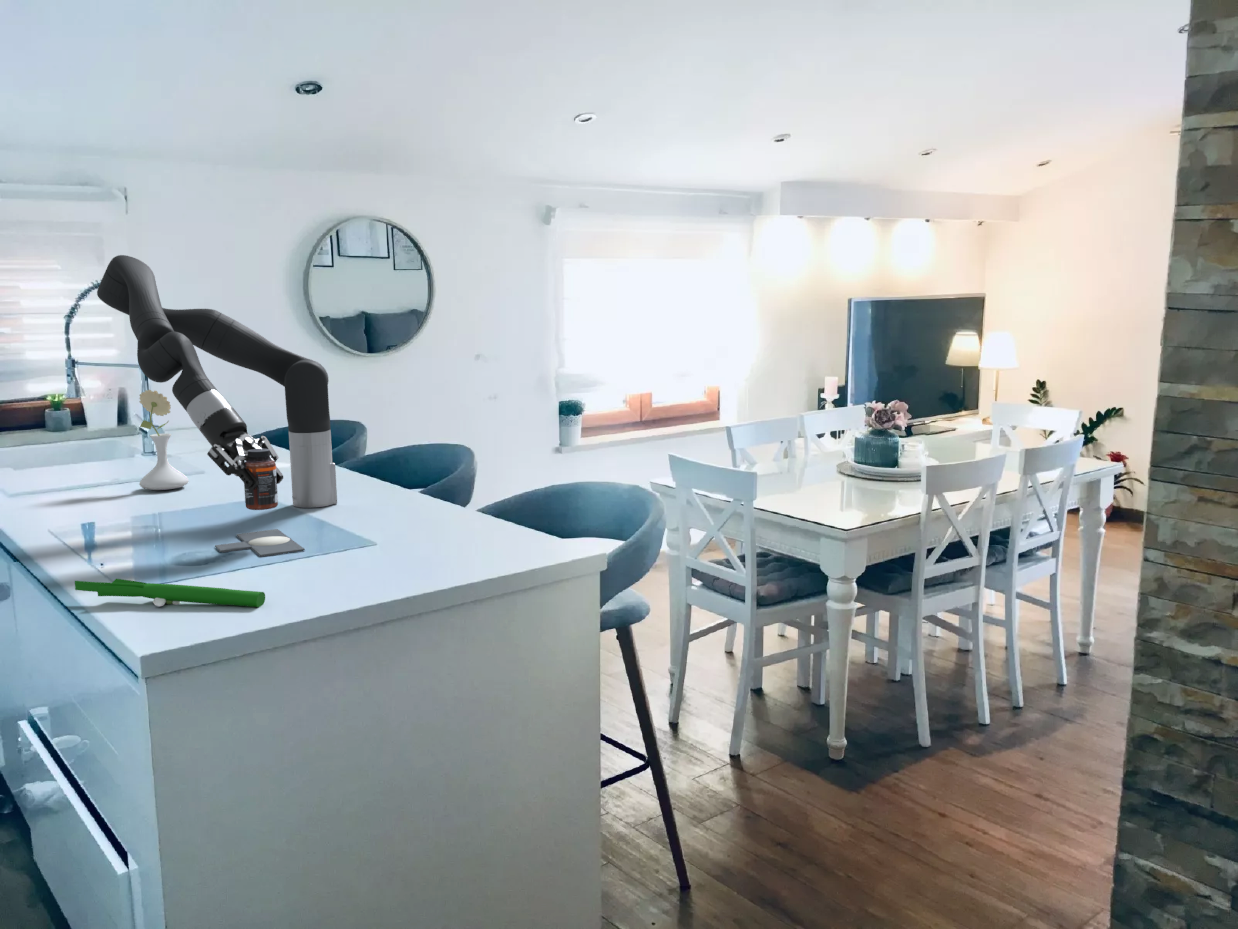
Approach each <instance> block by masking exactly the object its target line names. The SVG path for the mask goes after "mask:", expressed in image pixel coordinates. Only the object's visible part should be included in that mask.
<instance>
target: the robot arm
mask: <svg viewBox="0 0 1238 929" xmlns="http://www.w3.org/2000/svg"><path fill="white" fill-rule="evenodd" d="M107 264H108V265H107V268H106V269H105V271H104V273H103V276H102V278H101V280H100V283H99V284H98V287H97V290H96V295H97V297H98V299H99V300H100V301H101V302H103V303H104V304H106V305H107V306H108V307H110V308H112V309H114V310H116V311H119V312H121V313H123V314H125V315H128V316H129V323H130V324H129V325H130V327H131V328H130V329H132V332H133V334H134V336H135V338H136V340H137V344H136V345H137V348H136V349H137V353H136V356H137V362H138V363H137V364H138V366H139V368H140V370H141V372H142V373H143V374H144V376H146V377H147V379H149V380H151V381H153V382H155V383H160V384H161V383H167V382H168V381H170V380H171V379H173V378H174V377H175V376H176V375H178V374H179V373H180V374H179V376H178V377H177V379H176V380H175V382H174V384H173V385H172V389H171V390H172V394H173V396H174V398H175V399H176V401H177V402H178V403H179V404H180V406H182V408H183V409H184V410H185V411H186V412H187V413H186V414H188V416H189V418H190V420H191V421H192V423H193V424H194V425H195V426H196V428H197V429H198V430H199V432H200V433H201V434H202V435H203V437H204V438H205V439H206V440H207V442H208V443H209V445H210V446H211V448H210V449H209V450H208V451H207V454H206V455H207V456H208V457H209V458H210V459H211V460H212V462H214V464H216V466H217V467H218V468H220V470H221V471H222V472H223V473H224V474H225V475H227V476H231V475H234V476H236V477H239V479H240V481H241V482H243V484H244V483H245V485H246V486H247V487H248V488H249V489H250V490H254V489H256V487H257V486H258V485H259V481H258V480H257V479H256V477H255V476H254V475H253V474H252V472H251V471H250V470H249V468H248V469H246V464H245V462H246V461H247V459H248V450H251V449H269V450H270V458H271V460H273V461H274V462H275V463H276V462H277V461H278V459H279V458H280V457H279V455H278V453H277V452H276V450H275V449H274V448H273V445H271V442H270V441H269V440H268V438H267V437H266V436H264V435H261V436H260V438H255V437H253V436H252V435H250V434H249V433H248V425H247V424H246V422H245V421H244V420H243V418H242V417H241V416H240V415H239V414H238V412H237V411H236V409H235V408H234V407H233V405H231V403H230V401H228V400H227V398H226V397H225V396H224V395H222V394H221V393H220V391H218V389H217V388H216V387H215V385H214V384H213V383H212V382H211V380H210V379H209V377H208V376H207V374H206V372H205V371H204V368H203V367H202V366H203V365H202V364H201V362H200V359H199V356H198V353H197V350H196V348H198V349H199V350H201V351H203V352H206V353H208V354H209V355H211V356H214V357H216V358H217V359H220V360H222V361H225V362H227V363H230V364H232V365H235V366H238V367H241V368H243V369H244V368H245V369H247V370H251V371H254V372H257V373H259V374H261V375H264V376H266V377H267V378H269V379H271V380H273V381H275V382H276V383H278V384H279V385H280V386H283V387H284V397H285V398H284V399H285V408H286V410H285V411H286V421H287V426H288V427H287V428H288V444H289V457H290V458H289V460H290V461H289V462H290V477H291V479H290V480H291V493H292V494H291V496H292V497H291V498H292V505H293V506H294V507H295V508H304V509H305V508H308V509H309V508H311V509H312V508H321V507H328V506H331V505H336V504H338V494H337V492H338V489H337V475H336V474H337V471H336V463H335V462H333V452H332V451H333V448H332V432H331V430H332V429H331V427H332V426H331V416H330V402H329V375H328V372H327V370H326V368H325V367H324V366H323V365H322V364H321V363H319V362H318V361H316V360H313V359H311V358H307V357H304V356H302V355H299V354H298V353H294V352H292V351H289V350H287V349H285V348H283V347H280V346H279V345H277V344H275V343H273V342H271V341H270V340H269V339H267V338H266V337H264V336H263V335H261V334H260V333H257V332H256V331H254V330H253V329H251V328H249V327H248V326H247V325H245V324H243V323H241V322H239V321H237V320H235V319H234V318H232V317H230V316H228V315H226V314H224V313H222V312H221V311H218V310H216V309H212V308H188V309H187V308H185V309H172V308H164V307H163V306H162V302H161V299H160V296H159V295H160V294H159V292H158V286H157V281H156V277H155V273H154V272H153V270H152V269H151V267H150V266H149V265H148V264H146V263H145V262H144V261H142V260H140V259H138V258H136V257H133V256H130V255H124V254H120V255H119V254H118V255H116V256H114V257H113V258H111V260H110V261H109V263H107ZM195 347H196V348H195ZM226 464H227V465H228V466H227V465H226ZM276 476H277V485H278V484H280V483H281V482H282V481H283V479H284V475H283V473H282V471H281V470H280V469H279V468H278V467H277V466H276Z"/></svg>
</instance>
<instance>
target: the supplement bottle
mask: <svg viewBox="0 0 1238 929" xmlns="http://www.w3.org/2000/svg"><path fill="white" fill-rule="evenodd" d="M270 457H271V455H270V450H269V449H251V450H248V459H247V461H245V464H246V469H248V468H249V470H250V471H251V472H252V474H253V475H254V476H255V477H256V479H257V480H258V481H259V485H258V486H257V487H256V489H254V490H250V489H249V488H248V487H247V486H246V485H245V483H244V482H243V485H244V486H243V487H244V502H245V508H246V509H248V510H251V511H264V510H265V511H266V510H272V509H275V508H277V507H278V505H279V496H278V495H279V494H278V484H277V476H276V467H277V465H276V464H277V463H276V462H274V461H273V460H271V458H270Z"/></svg>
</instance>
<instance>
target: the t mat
mask: <svg viewBox="0 0 1238 929" xmlns="http://www.w3.org/2000/svg"><path fill="white" fill-rule="evenodd" d="M235 535H236V537H237V538H238V539H239V540H241V541H237V542H230V543H223V544H215V545H214V548H215V547H216V548H217V549H218V550H219V551H220V552H222V553H228V552H229V551H230V552H235V551H243V549H245V550H252V551H253V552H254V553H255V554H256V555H257V556H259V557H260V558H262V557H263V556H264V557H268V556H269V557H271V556H276V555H278V554H279V555H284V554H283V553H286V554H289V553H288V552H293V553H298V552H297V551H300V552H303V551H302V550H305V548H304V547H303V546H302V545H300V544H299V543H297V542H296V541H295V540H293V539H292V538H290V537H289V536H288V535H286V534H285V533H284V532H282V531H281V530H279V529H278V528H274V529H266V530H257V531H251V532H242V533H236V534H235ZM216 548H215V549H216ZM217 549H216V550H217ZM218 550H217V551H218ZM219 551H218V552H219ZM305 551H306V550H305ZM220 552H219V553H220ZM230 552H229V553H230Z"/></svg>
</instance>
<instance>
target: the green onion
mask: <svg viewBox="0 0 1238 929" xmlns="http://www.w3.org/2000/svg"><path fill="white" fill-rule="evenodd" d="M74 590H75V591H83V592H91V593H92V592H93V593H94V592H95V593H97V597H128V598H129V597H133V598H136V597H139V598H141V597H143V598H147V599H152V603H153V605H154V606H155V607H163V606H165V604H166V605H173V606H176V605H178V606H179V605H180V604H181V602H182V603H194V604H195V603H197V604H208V605H216V606H217V605H219V606H220V605H221V606H235V607H236V606H238V607H239V606H240V607H248V608H249V607H250V608H261V607H262V606H263V605H264V603H265V601H266V593H265V592H264V591H258V590H257V591H254V590H243V589H232V588H224V587H214V586H213V587H212V586H211V587H210V586H198V585H197V586H196V585H185V584H184V585H183V584H174V583H173V584H172V583H151V582H148V583H147V582H143V581H135V580H130V579H123V578H115V579H114V580H113V581H112V582H107V581H105V582H102V581H82V580H74Z"/></svg>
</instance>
